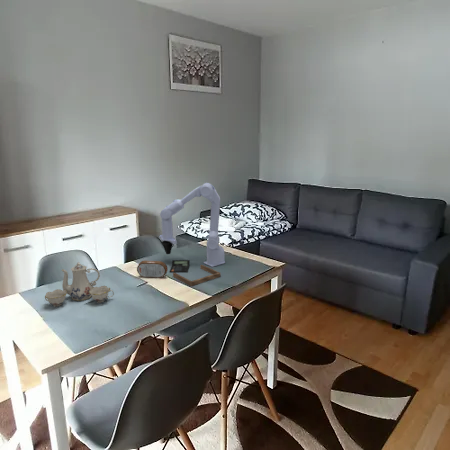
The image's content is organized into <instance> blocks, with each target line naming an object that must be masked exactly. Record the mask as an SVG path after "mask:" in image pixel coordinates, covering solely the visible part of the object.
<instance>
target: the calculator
mask: <svg viewBox="0 0 450 450" xmlns="http://www.w3.org/2000/svg"><path fill="white" fill-rule="evenodd" d="M190 262H191V261H190V259H189V260H188V259H187V260H186V259H184V260H183V259H182V260H181V259H179V260H177V259H173V260H172V261H171V267H170V269H169V273H172V274H173V273H177V274H179V273H188V272H189V268H190Z"/></svg>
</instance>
